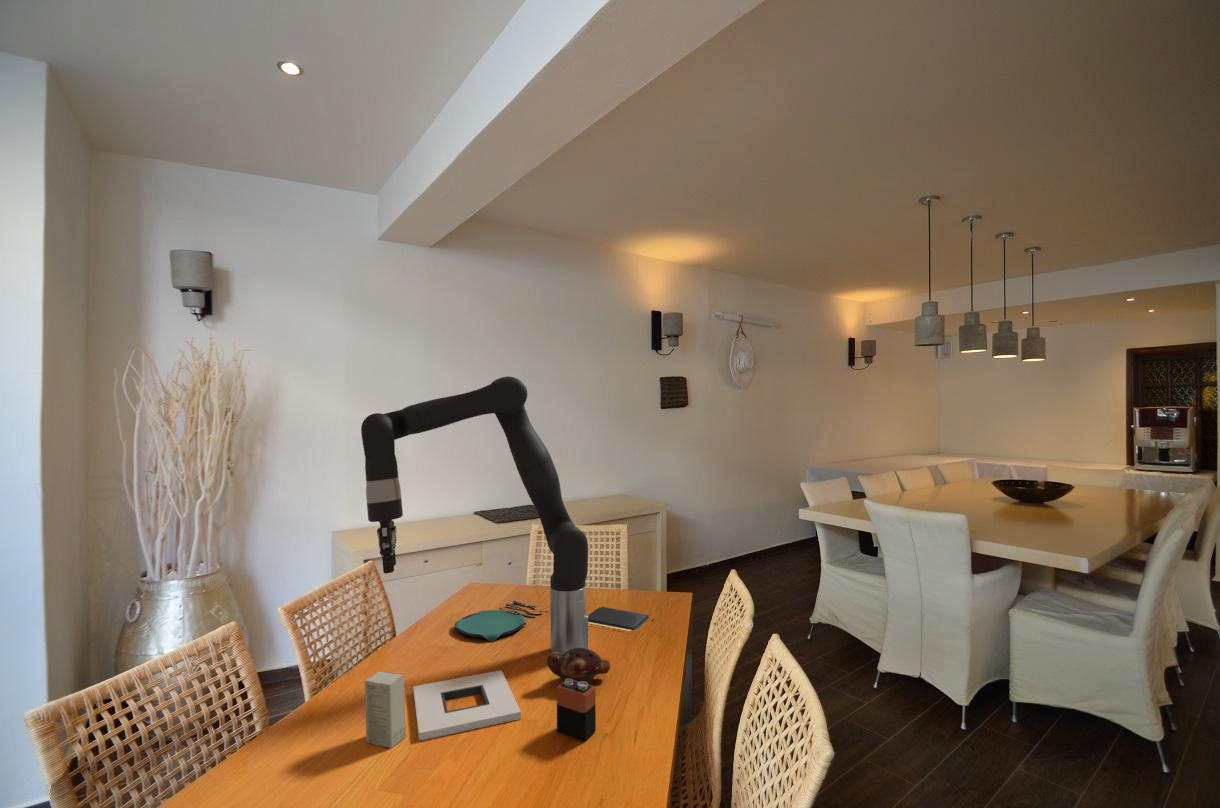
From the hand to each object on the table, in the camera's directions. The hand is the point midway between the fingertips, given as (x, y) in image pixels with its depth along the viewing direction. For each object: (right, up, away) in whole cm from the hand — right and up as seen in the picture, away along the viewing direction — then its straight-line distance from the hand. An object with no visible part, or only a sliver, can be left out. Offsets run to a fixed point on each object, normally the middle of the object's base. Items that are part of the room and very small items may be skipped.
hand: (390, 569), depth 131 cm
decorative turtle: (+44, -27, +1) cm, 51 cm away
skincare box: (+7, -27, -21) cm, 35 cm away
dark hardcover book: (+53, -28, +40) cm, 72 cm away
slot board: (+19, -27, -9) cm, 34 cm away
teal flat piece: (+19, -28, +39) cm, 52 cm away
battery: (+44, -27, -19) cm, 55 cm away
